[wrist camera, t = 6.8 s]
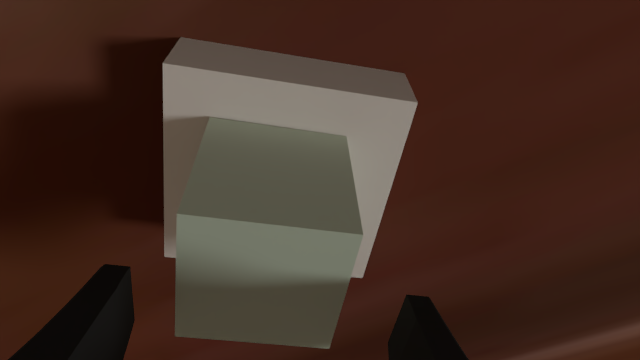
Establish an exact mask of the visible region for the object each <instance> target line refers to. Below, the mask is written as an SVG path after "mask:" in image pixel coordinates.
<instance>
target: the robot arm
mask: <svg viewBox="0 0 640 360" xmlns="http://www.w3.org/2000/svg"><path fill="white" fill-rule="evenodd" d="M133 323H134V308H133V296H132V284H131V272H130V267H128V266H118V265H108V264H105V265H103V266H102V267H101V268H100V269H99V270H98V271H97V272H96V273H95V274H94V275H93V276H92V278H91V279H90V280H89V281H88V282H87V283H86V284H85V285H84V286H83V287H82V288H81V290H80V291H79V292H78V293H77V294H76V295H75V296H74V297H73V298H72V299H71V300H70V301H69V302H68V303H67V304H66V305H65V306H64V307H63V308H62V309H61V310H60V311H59V312H58V313H57V314H56V315H55V316H54V317H53V318H52V319H51V320H50V321H49V322H48V323H47V324H46V325H45V326H44V327H43V328H42V329H41V330H40V331H39V332H38V333H37V334H36V335H35V336H34V337H33V338H32V339H30V340H29V341H28V342H27V343H26V344H25V345H24V346H23V347H22V348H20V349H19V350H18V351H17V352H16V353H15V354H14V355H13V356H12V357H10V358H9V359H8V360H123V358H124V354H125V351H126V348H127V344H128V341H129V338H130V334H131V331H132V327H133ZM388 351H389V360H469V359H468V358H467V357H466V355H465V354H464V352H463V351H462V349H461V347H460V346H459V344H458V343H457V341H456V340H455V338H454V337H453V335H452V333H451V332H450V330H449V329H448V327H447V325H446V324H445V322H444V321H443V319H442V317H441V316H440V314H439V312H438V311H437V309H436V308H435V306H434V304H433V303H432V301H431V300H430V298H429V297H424V296H415V295H406V298H405V300H404V303H403V305H402V308H401V310H400V313H399V316H398V318H397V321H396V323H395V326H394V329H393V331H392V334H391V336H390V339H389V342H388Z"/></svg>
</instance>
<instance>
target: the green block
mask: <svg viewBox="0 0 640 360" xmlns="http://www.w3.org/2000/svg"><path fill="white" fill-rule="evenodd" d="M362 238H363V230H362V224H361V218H360V212H359V207H358V201H357V195H356V189H355V183H354V177H353V171H352V166H351V160H350V154H349V148H348V142H347V136H340V135H333V134H326V133H319V132H312V131H305V130H298V129H291V128H284V127H276V126H269V125H262V124H255V123H248V122H241V121H234V120H227V119H220V118H212V117H210V118H209V121H208V124H207V126H206V129H205V132H204V135H203V138H202V141H201V144H200V147H199V150H198V153H197V156H196V159H195V162H194V165H193V168H192V170H191V173H190V176H189V179H188V182H187V185H186V188H185V191H184V194H183V197H182V200H181V203H180V206H179V209H178V211H177V229H176V298H175V336H179V337H191V338H203V339H216V340H228V341H240V342H253V343H265V344H277V345H290V346H302V347H314V348H327V349H329V348H330V344H331V341H332V338H333V334H334V331H335V328H336V324H337V321H338V318H339V314H340V311H341V308H342V304H343V301H344V298H345V294H346V291H347V288H348V284H349V281H350V278H351V275H352V271H353V268H354V265H355V261H356V258H357V255H358V251H359V248H360V245H361V241H362Z"/></svg>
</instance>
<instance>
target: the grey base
mask: <svg viewBox="0 0 640 360" xmlns="http://www.w3.org/2000/svg"><path fill="white" fill-rule="evenodd" d="M417 104H418V102H417V100H416V98H415V95H414V93H413V91H412V89H411V87H410V84H409V82H408V80H407V78H406V76H405V74H404V73H398V72H392V71H385V70H379V69H373V68H367V67H361V66H355V65H348V64H342V63H336V62H330V61H324V60H318V59H311V58H305V57H299V56H293V55H287V54H281V53H275V52H268V51H262V50H256V49H250V48H244V47H238V46H231V45H225V44H219V43H213V42H207V41H201V40H194V39H188V38H182V37H180V39H179V40H178V42H177V43H176V45H175V46H174V48H173V49H172V50H171V52H170V53H169V55H168V56H167V58H166V59H165V60H164V62H163V153H164V257H173V258H176V229H177V211H178V209H179V206H180V203H181V200H182V197H183V194H184V191H185V188H186V185H187V182H188V179H189V176H190V173H191V170H192V168H193V165H194V162H195V159H196V156H197V153H198V150H199V147H200V144H201V141H202V138H203V135H204V132H205V129H206V126H207V124H208V121H209V118H210V117H212V118H220V119H227V120H234V121H241V122H248V123H255V124H262V125H269V126H276V127H284V128H291V129H298V130H305V131H312V132H319V133H326V134H333V135H340V136H347V142H348V148H349V154H350V160H351V166H352V171H353V177H354V183H355V189H356V195H357V201H358V207H359V212H360V218H361V224H362V230H363V238H362V241H361V245H360V248H359V251H358V255H357V258H356V261H355V265H354V268H353V271H352V275H351V277H357V278H363V275H364V272H365V268H366V265H367V262H368V259H369V256H370V253H371V249H372V246H373V243H374V240H375V237H376V234H377V230H378V227H379V224H380V221H381V218H382V214H383V211H384V208H385V205H386V202H387V199H388V195H389V192H390V189H391V186H392V183H393V180H394V176H395V173H396V170H397V167H398V164H399V161H400V157H401V154H402V151H403V148H404V145H405V142H406V138H407V135H408V132H409V129H410V126H411V123H412V119H413V116H414V113H415V110H416V107H417Z"/></svg>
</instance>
